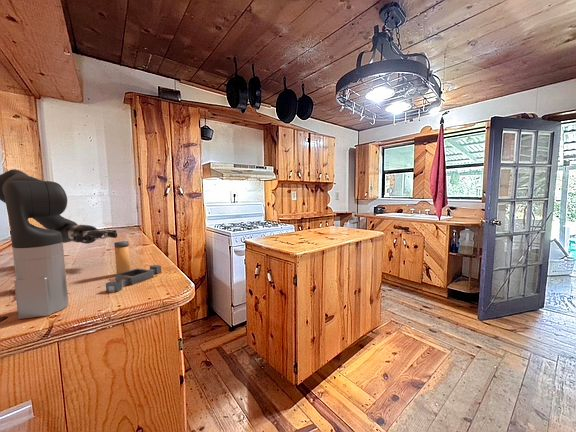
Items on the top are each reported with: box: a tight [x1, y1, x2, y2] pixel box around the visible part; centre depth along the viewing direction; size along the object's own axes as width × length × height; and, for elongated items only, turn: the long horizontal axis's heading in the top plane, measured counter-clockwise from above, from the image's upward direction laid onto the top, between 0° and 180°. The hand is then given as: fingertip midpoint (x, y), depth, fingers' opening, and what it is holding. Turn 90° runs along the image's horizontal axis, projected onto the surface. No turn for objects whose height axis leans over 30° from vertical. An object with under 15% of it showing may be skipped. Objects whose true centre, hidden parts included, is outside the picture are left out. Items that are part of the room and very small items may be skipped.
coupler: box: [114, 240, 131, 275], centre depth 96 cm, size 4×4×12 cm
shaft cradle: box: [105, 264, 162, 293], centre depth 88 cm, size 20×10×3 cm, turn 157°
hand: (104, 236), depth 101 cm, fingers open, 8 cm apart
